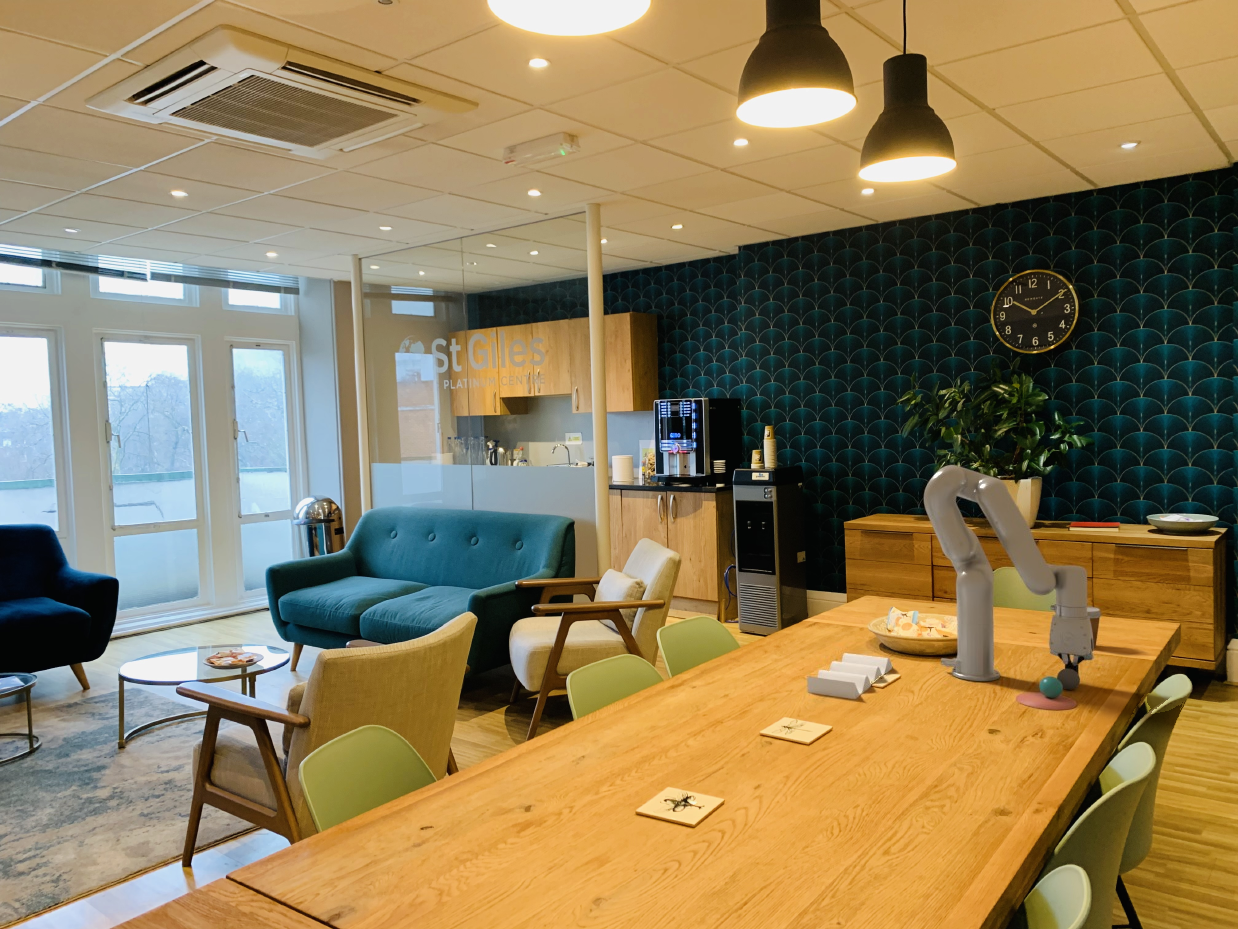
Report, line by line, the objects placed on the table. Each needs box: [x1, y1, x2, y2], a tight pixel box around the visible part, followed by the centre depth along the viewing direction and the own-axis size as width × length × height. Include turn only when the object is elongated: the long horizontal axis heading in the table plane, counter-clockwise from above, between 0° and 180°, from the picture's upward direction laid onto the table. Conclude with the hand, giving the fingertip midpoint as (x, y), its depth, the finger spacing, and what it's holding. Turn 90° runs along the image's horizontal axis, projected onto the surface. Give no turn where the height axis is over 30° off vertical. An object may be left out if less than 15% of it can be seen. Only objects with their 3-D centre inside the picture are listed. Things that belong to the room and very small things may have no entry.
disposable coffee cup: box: [1087, 606, 1102, 649], centre depth 280 cm, size 10×10×12 cm
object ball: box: [1038, 676, 1064, 698], centre depth 230 cm, size 6×6×6 cm
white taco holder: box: [806, 652, 894, 700], centre depth 252 cm, size 13×35×5 cm, turn 147°
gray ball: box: [1056, 668, 1081, 691], centre depth 237 cm, size 6×6×6 cm
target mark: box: [1015, 691, 1077, 711], centre depth 228 cm, size 14×14×1 cm
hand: (1071, 678), depth 242 cm, fingers closed
